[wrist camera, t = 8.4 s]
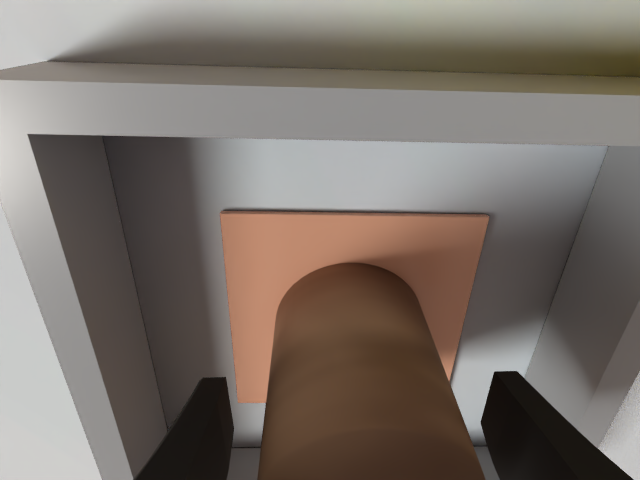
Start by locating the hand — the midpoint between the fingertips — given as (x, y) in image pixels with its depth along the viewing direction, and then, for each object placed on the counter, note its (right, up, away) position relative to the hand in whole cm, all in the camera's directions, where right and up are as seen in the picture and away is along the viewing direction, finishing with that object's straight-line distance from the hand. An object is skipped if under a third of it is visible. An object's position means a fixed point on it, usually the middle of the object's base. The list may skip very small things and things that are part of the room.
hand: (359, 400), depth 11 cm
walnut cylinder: (0, +1, +3) cm, 3 cm away
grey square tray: (0, +2, +3) cm, 3 cm away
